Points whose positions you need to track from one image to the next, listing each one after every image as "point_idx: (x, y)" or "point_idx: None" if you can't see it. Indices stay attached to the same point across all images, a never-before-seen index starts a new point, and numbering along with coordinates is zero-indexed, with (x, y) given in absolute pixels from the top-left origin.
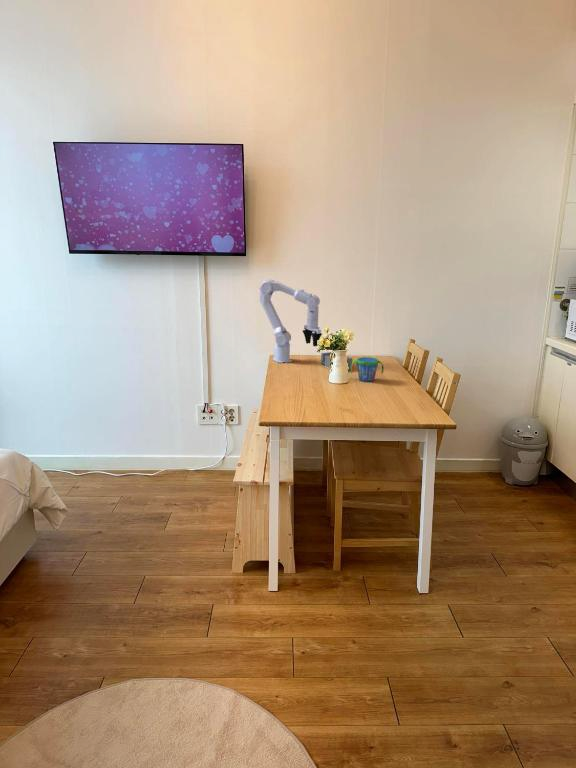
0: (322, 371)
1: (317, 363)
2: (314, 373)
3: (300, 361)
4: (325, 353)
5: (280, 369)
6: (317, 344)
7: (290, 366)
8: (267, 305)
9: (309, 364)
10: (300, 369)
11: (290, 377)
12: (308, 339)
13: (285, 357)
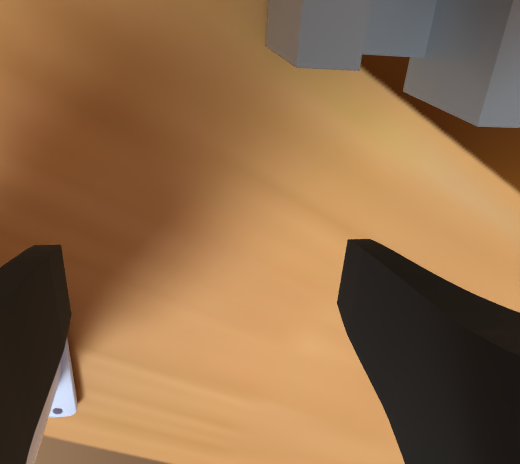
0: (513, 207)
1: (217, 68)
2: (512, 294)
3: (49, 206)
4: (360, 17)
5: (273, 450)
6: (389, 253)
7: (220, 367)
8: None
9: (223, 183)
10: None
11: None
12: (37, 337)
13: (50, 399)
